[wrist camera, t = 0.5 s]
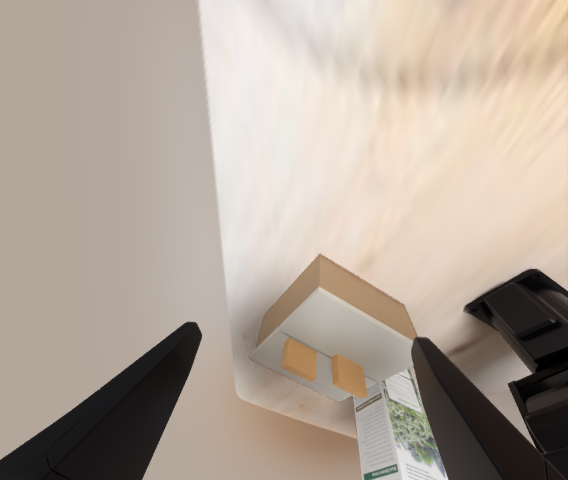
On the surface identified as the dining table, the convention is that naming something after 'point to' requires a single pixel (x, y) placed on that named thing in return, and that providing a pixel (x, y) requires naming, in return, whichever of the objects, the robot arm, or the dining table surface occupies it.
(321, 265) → the carton
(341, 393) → the left cover
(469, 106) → the dining table surface
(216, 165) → the dining table surface
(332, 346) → the right cover
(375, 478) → the syrup box
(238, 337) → the dining table surface
